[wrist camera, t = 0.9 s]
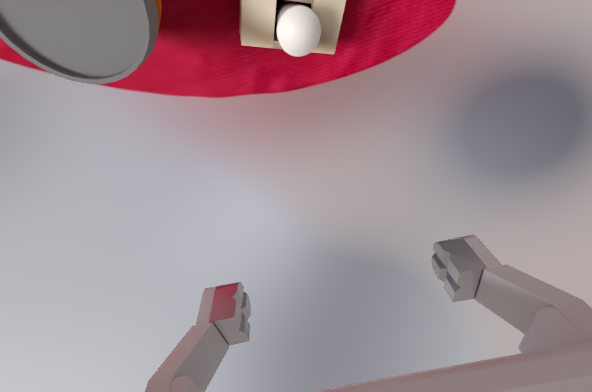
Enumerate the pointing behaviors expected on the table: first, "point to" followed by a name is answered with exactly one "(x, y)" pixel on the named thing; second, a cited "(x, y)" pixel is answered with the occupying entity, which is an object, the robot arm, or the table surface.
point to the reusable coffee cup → (82, 35)
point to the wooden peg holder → (261, 23)
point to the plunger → (297, 28)
